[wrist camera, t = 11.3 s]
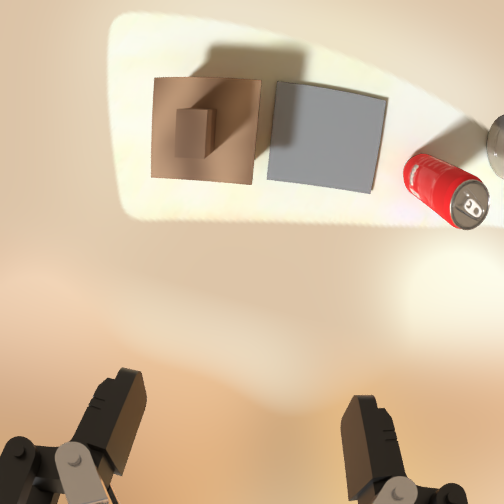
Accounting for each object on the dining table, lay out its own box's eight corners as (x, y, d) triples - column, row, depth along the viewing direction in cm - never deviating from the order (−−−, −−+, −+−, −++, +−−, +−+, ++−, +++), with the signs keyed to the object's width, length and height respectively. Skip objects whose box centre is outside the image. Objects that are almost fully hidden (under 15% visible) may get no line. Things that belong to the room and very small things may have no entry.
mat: (384, 100, 30) (385, 100, 30) (368, 192, 35) (370, 194, 35) (277, 81, 31) (277, 81, 30) (266, 178, 35) (266, 179, 35)
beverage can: (414, 143, 32) (468, 165, 21) (443, 167, 33) (500, 197, 22) (392, 179, 34) (437, 214, 24) (422, 201, 35) (471, 242, 24)
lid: (261, 80, 26) (259, 76, 22) (252, 183, 31) (248, 198, 26) (157, 78, 26) (135, 74, 22) (153, 175, 31) (133, 189, 26)
